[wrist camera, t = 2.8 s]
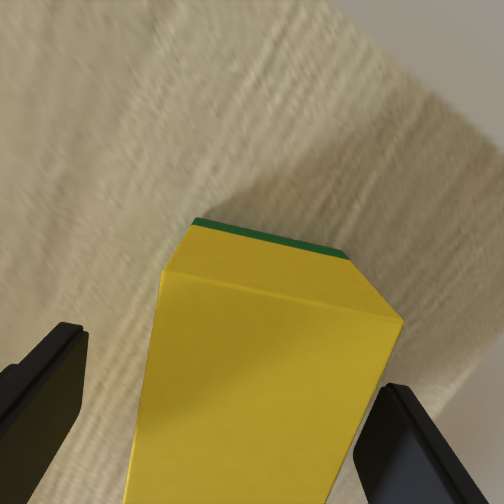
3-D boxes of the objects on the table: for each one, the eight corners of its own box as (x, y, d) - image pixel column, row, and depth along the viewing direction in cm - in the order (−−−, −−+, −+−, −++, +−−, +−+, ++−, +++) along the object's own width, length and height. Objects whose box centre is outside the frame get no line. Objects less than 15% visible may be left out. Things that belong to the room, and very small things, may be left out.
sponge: (195, 216, 11) (161, 270, 6) (342, 250, 11) (407, 322, 7) (154, 429, 13) (110, 570, 9) (273, 449, 14) (287, 592, 9)
